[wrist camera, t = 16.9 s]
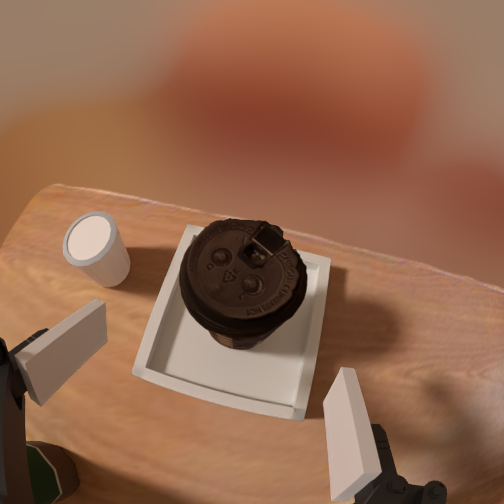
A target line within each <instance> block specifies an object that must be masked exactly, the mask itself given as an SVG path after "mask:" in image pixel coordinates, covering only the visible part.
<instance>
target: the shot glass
mask: <svg viewBox="0 0 504 504" xmlns="http://www.w3.org/2000/svg"><path fill="white" fill-rule="evenodd" d="M63 254H64V256H65V258H66V259H67V261H68V262H69V263H70V264H71V265H73V266H74V267H75V268H77V269H78V270H79V271H80V272H82V273H83V274H84V275H86V276H87V277H88V278H90V279H91V280H92V281H94V282H95V283H96V284H98V285H100V286H102V287H114V286H116V285H118V284H120V283H121V282H122V281H123V280H124V279H125V278H126V277H127V275H128V273H129V271H130V265H131V261H130V258H129V255H128V252H127V250H126V248H125V245H124V243H123V240H122V238H121V236H120V233H119V231H118V228H117V226H116V223H115V220H114V219H113V218H112V217H111V216H110V215H109V214H108V213H104V212H101V211H96V212H89V213H87V214H85V215H83V216H81V217H79V218H78V219H77V220H76V221H75V222H74V223H73V224H72V225H71V226H70V228H69V229H68V231H67V232H66V234H65V237H64V241H63Z"/></svg>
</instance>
